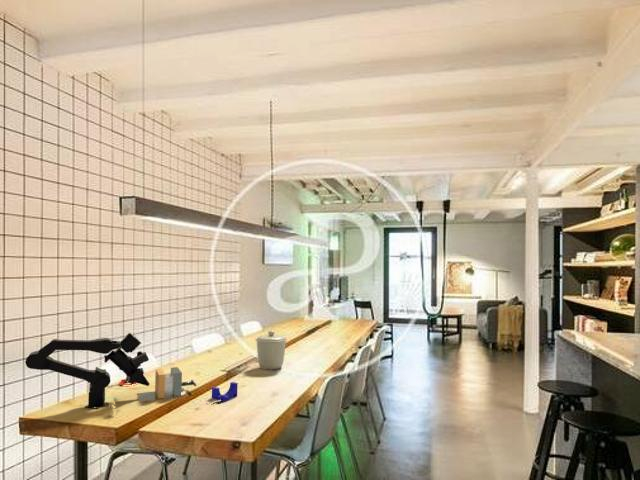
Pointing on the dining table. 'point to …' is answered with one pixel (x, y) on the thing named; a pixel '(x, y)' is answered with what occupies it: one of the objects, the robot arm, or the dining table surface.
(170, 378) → the steel block
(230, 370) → the dining table surface
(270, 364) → the canister
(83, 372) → the robot arm
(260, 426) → the dining table surface
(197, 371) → the dining table surface
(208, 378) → the dining table surface
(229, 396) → the blue arch block
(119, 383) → the red handwheel with stem
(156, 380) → the block
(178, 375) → the vise
